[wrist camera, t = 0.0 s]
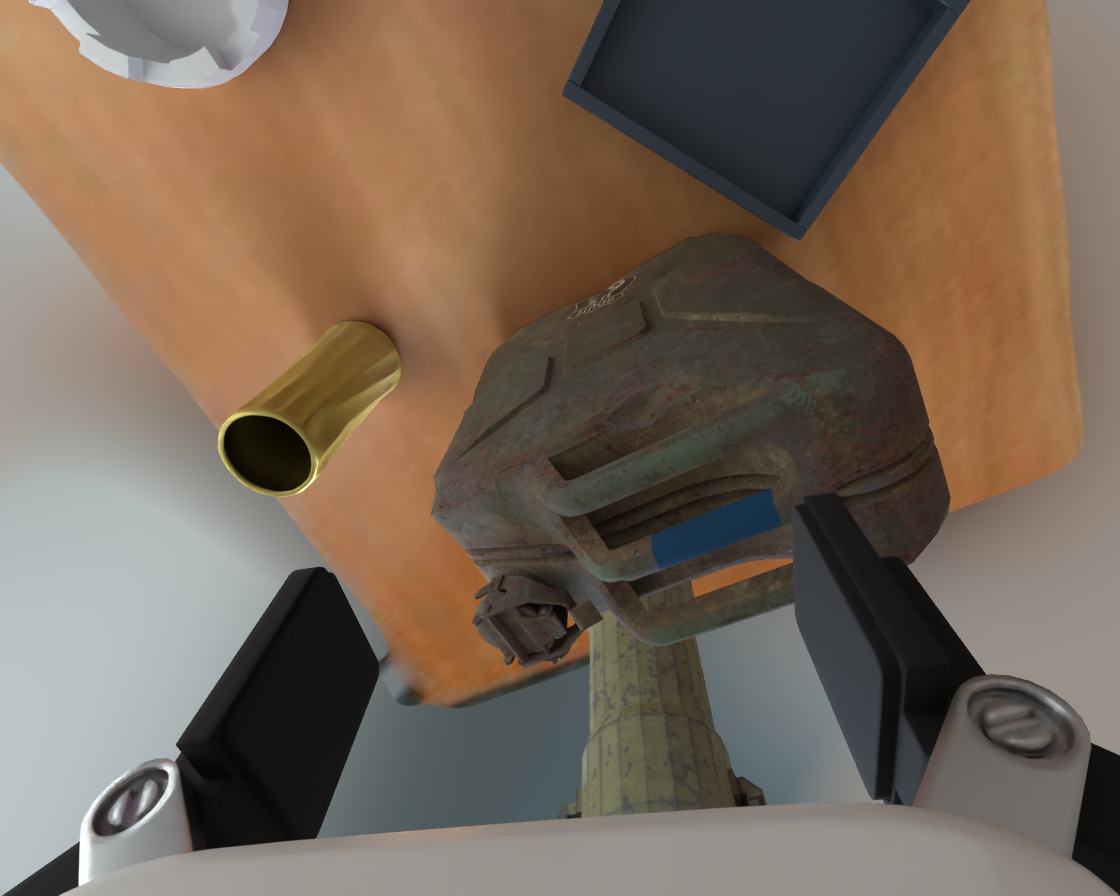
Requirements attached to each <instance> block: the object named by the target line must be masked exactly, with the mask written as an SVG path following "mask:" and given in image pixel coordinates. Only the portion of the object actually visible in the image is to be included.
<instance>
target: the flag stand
mask: <svg viewBox="0 0 1120 896" xmlns="http://www.w3.org/2000/svg"><path fill="white" fill-rule="evenodd" d="M29 2H30V3H31V5H36V6H40V7H45V8H49V9H51V11H52V12H53V13H54V14H55V15H56V16H57V18H58V19H59V20H60V21H61V22H62V23H63V25H64V26H65V27H66V28H67V29H68V30H69V32H70V33H71V34H72V35H73V36H74V37H75V38H77V39H78V40H79V41H80V42H81V45H80V48H79V51H78V52H79V53H80V54H82V55H83V56H85V57H86V58H88V59H89V60H91V61H93V62H94V63H96V64H97V65H99V66H100V67H102V68H103V69H105V70H108V71H110V72H112V73H115V74H117V75H119V76H121V77H124V78H126V79H128V80H135V81H144V82H148V83H153V84H157V85H162V86H166V87H174V88H207V87H211V86H215V85H219V84H223V83H225V82H227V81H229V80H231V79H233V78H234V77H236V76H238V75H240V74H242V73H243V72H244V71H245V70H246V69H247V68H248V67H249V66H250V65H252V64H253V63H254V62H255V61H256V60H257V59H258V58H259V57H260V56H261V55H262V54H263V53H264V52H265V51H266V50H267V49H268V48H269V47H270V46H271V45H272V43H273V41H274V40H275V38H276V37H277V35H278V33H279V32H280V30H281V27H282V24H283V22H284V19H285V16H286V13H287V10H288V3H289V0H29Z"/></svg>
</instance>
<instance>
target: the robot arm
mask: <svg viewBox="0 0 1120 896" xmlns="http://www.w3.org/2000/svg"><path fill="white" fill-rule="evenodd" d="M792 537H793V570H794V602H795V616H796V620H797V624H798V627H799V630H800V632H801V635H802V637H803V640H804V642H805V644H806V647H807V649H808V652H809V654H810V656H811V659H812V661H813V664H814V666H815V668H816V671H817V673H818V675H819V678H820V680H821V683H822V685H823V687H824V690H825V692H826V694H827V697H828V699H829V702H830V704H831V706H832V709H833V711H834V713H835V716H836V718H837V721H838V723H839V725H840V728H841V730H842V733H843V734H844V737H845V740H846V742H847V744H848V747H849V749H850V751H851V754H852V756H853V759H854V761H855V763H856V766H857V768H858V771H859V773H860V775H861V778H862V780H863V782H864V785H865V787H866V790H867V791H868V793H869V795H870V797H871V798H872V799H873V800H882V799H883V801H884V803H885V804H878V803H804V804H785V805H766V806H747V807H729V808H711V809H697V810H683V811H669V812H655V813H641V814H627V815H613V816H599V817H585V818H571V819H558V820H546V821H533V822H519V823H508V824H493V825H481V826H467V827H455V828H442V829H429V830H417V831H404V832H393V833H380V834H368V835H356V836H344V837H332V838H320V839H315V838H316V837H317V835H318V833H319V831H320V828H321V826H322V823H323V820H324V818H325V815H326V812H327V810H328V807H329V805H330V802H331V800H332V797H333V794H334V792H335V789H336V787H337V784H338V781H339V778H340V776H341V773H342V771H343V768H344V765H345V763H346V760H347V758H348V755H349V753H350V750H351V747H352V745H353V742H354V740H355V737H356V734H357V732H358V729H359V727H360V724H361V721H362V718H363V716H364V713H365V710H366V708H367V706H368V703H369V701H370V698H371V695H372V693H373V690H374V688H375V685H376V682H377V680H378V676H379V663H378V660H377V658H376V656H375V654H374V652H373V650H372V648H371V646H370V644H369V642H368V640H367V638H366V636H365V634H364V632H363V630H362V628H361V626H360V624H359V622H358V620H357V618H356V616H355V614H354V612H353V610H352V608H351V606H350V604H349V602H348V600H347V598H346V596H345V594H344V592H343V590H342V588H341V586H340V584H339V582H338V580H337V578H336V576H335V575H334V574H333V573H331V572H328V571H327V570H326V569H325V568H323V567H315V568H307V569H301V570H295V571H293V572H292V573H291V574H290V575H289V576H288V578H287V579H286V581H285V582H284V584H283V586H282V587H281V589H280V590H279V591H278V593H277V594H276V596H275V597H274V599H273V600H272V602H271V603H270V605H269V606H268V608H267V609H266V611H265V612H264V614H263V615H262V617H261V618H260V620H259V621H258V623H257V624H256V626H255V627H254V629H253V630H252V632H251V633H250V635H249V636H248V638H247V639H246V641H245V642H244V644H243V645H242V647H241V648H240V649H239V651H238V652H237V654H236V655H235V657H234V658H233V660H232V661H231V663H230V664H229V666H228V667H227V669H226V670H225V672H224V673H223V675H222V676H221V678H220V679H219V681H218V682H217V684H216V685H215V687H214V688H213V690H212V691H211V693H210V694H209V696H208V697H207V699H206V700H205V702H204V703H203V705H202V706H201V708H200V709H199V711H198V712H197V714H196V715H195V717H194V718H193V720H192V721H191V723H190V724H189V725H188V727H187V728H186V730H185V732H184V733H183V734H182V736H181V738H180V739H179V741H178V742H177V743H176V746H177V747H178V748H179V750H180V751H181V753H180V755H179V756H178V758H177V759H176V761H175V762H174V761H172V760H170V759H154V760H151V761H147V762H144V763H142V764H140V765H138V766H136V767H134V768H132V769H130V770H129V771H127V772H126V773H125V774H123V775H122V776H120V777H119V778H118V779H116V780H115V781H114V782H113V783H112V784H111V785H109V786H108V787H107V788H106V789H105V790H104V791H103V792H102V793H101V794H100V796H99V797H98V798H97V799H96V801H95V802H94V803H93V804H92V805H91V807H90V809H89V810H88V812H87V814H86V816H85V818H84V820H83V823H82V827H81V831H80V842H78V843H77V844H75V845H74V846H73V847H71V848H70V849H69V850H67V851H66V852H64V853H63V854H61V855H60V856H58V857H57V858H55V859H54V860H53V861H51V862H50V863H48V864H47V865H45V866H44V867H43V868H41V869H40V870H38V871H37V872H35V873H34V874H33V875H31V876H30V877H28V878H27V879H25V880H24V881H23V882H21V883H20V884H18V885H17V886H15V887H14V888H13V889H11V890H10V891H8V892H7V893H5V894H4V895H2V896H1120V755H1117V754H1115V753H1113V752H1111V751H1108V750H1106V749H1104V748H1102V747H1099V746H1097V745H1095V744H1093V743H1091V742H1090V733H1089V731H1088V729H1087V727H1086V725H1085V723H1084V721H1083V720H1082V717H1081V716H1080V715H1079V714H1078V713H1077V712H1076V711H1075V710H1074V709H1073V708H1072V707H1071V706H1070V705H1069V704H1068V703H1067V702H1066V701H1064V700H1063V699H1061V698H1060V697H1059V696H1057V695H1056V694H1054V693H1053V692H1051V691H1050V690H1048V689H1046V688H1044V687H1042V686H1039V685H1037V684H1035V683H1033V682H1031V681H1028V680H1024V679H1020V678H1016V677H1013V676H1008V675H994V674H989V675H986V674H985V672H984V671H983V670H982V668H981V667H980V665H979V664H978V663H977V661H976V660H975V659H974V657H973V656H972V655H971V653H970V652H969V650H968V649H967V648H966V646H965V645H964V644H963V642H962V641H961V639H960V638H959V637H958V635H957V634H956V633H955V631H954V630H953V628H952V627H951V626H950V624H949V623H948V621H947V620H946V619H945V617H944V616H943V615H942V613H941V612H940V610H939V609H938V608H937V607H936V605H935V604H934V602H933V601H932V599H931V598H930V597H929V595H928V594H927V593H926V591H925V590H924V589H923V587H922V586H921V584H920V583H919V582H918V580H917V579H916V578H915V576H914V575H913V574H912V572H911V571H910V570H909V568H908V567H907V565H906V564H905V563H904V562H903V561H902V560H901V558H899V557H897V556H890V557H883V558H880V557H879V555H878V554H877V552H876V551H875V549H874V548H873V546H872V545H871V544H870V542H869V541H868V539H867V538H866V536H865V535H864V533H863V532H862V530H861V529H860V527H859V526H858V524H857V523H856V521H855V520H854V519H853V517H852V516H851V514H850V513H849V511H848V510H847V508H846V507H845V505H844V504H843V502H842V501H841V499H840V498H839V496H838V495H837V494H836V493H834V492H830V493H823V494H816V495H809V496H803V497H802V500H801V505H794V506H793V507H792Z"/></svg>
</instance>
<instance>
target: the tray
mask: <svg viewBox="0 0 1120 896" xmlns="http://www.w3.org/2000/svg"><path fill="white" fill-rule="evenodd" d="M969 2H970V0H604V2H603V5H602V7H601V9H600V11H599V13H598V16H597V18H596V20H595V22H594V24H593V26H592V29H591V31H590V33H589V35H588V37H587V39H586V42H585V44H584V46H583V48H582V50H581V53H580V55H579V57H578V59H577V61H576V63H575V66H574V68H573V70H572V72H571V74H570V77H569V80H568V81H567V83H566V85H565V87H564V90H563V92H562V94H563V96H564V97H566V98H567V99H569V100H571V101H572V102H574V103H575V104H577V105H579V106H580V107H582V108H583V109H585V110H587V111H588V112H590V113H591V114H593V115H595V116H596V117H598V118H599V119H601V120H603V121H604V122H606V123H607V124H609V125H611V126H612V127H614V128H615V129H617V130H619V131H620V132H622V133H624V134H625V135H627V136H628V137H630V138H632V139H633V140H635V141H636V142H638V143H640V144H641V145H643V146H644V147H646V148H648V149H649V150H651V151H652V152H654V153H656V154H657V155H659V156H660V157H662V158H664V159H665V160H667V161H668V162H670V163H672V164H673V165H675V166H676V167H678V168H680V169H681V170H683V171H684V172H686V173H688V174H689V175H691V176H692V177H694V178H696V179H697V180H699V181H701V182H702V183H704V184H705V185H707V186H709V187H710V188H712V189H713V190H715V191H717V192H718V193H720V194H721V195H723V196H725V197H726V198H728V199H729V200H731V201H733V202H734V203H736V204H737V205H739V206H741V207H742V208H744V209H745V210H747V211H749V212H750V213H752V214H753V215H755V216H757V217H758V218H760V219H761V220H763V221H765V222H766V223H768V224H769V225H771V226H773V227H774V228H776V229H777V230H779V231H781V232H782V233H784V234H786V235H787V236H789V237H791V238H792V239H794V240H796V241H800V240H801V238H802V237H803V236H804V234H805V233H806V231H807V230H808V229H809V228H810V226H811V225H812V223H813V222H814V220H815V219H816V218H817V216H818V215H819V213H820V212H821V211H822V209H823V208H824V206H825V205H826V204H827V202H828V201H829V199H830V198H831V196H832V195H833V194H834V192H835V191H836V189H837V188H838V187H839V185H840V184H841V182H842V181H843V180H844V178H845V177H846V175H847V174H848V172H849V171H850V170H851V168H852V167H853V165H854V164H855V163H856V161H857V160H858V158H859V157H860V156H861V154H862V153H863V151H864V150H865V148H866V147H867V146H868V144H869V143H870V141H871V140H872V139H873V137H874V136H875V134H876V133H877V132H878V130H879V129H880V127H881V126H882V124H883V123H884V122H885V120H886V119H887V117H888V116H889V115H890V113H891V112H892V110H893V109H894V108H895V106H896V105H897V103H898V102H899V100H900V99H901V98H902V96H903V95H904V93H905V92H906V91H907V89H908V88H909V86H910V85H911V84H912V82H913V81H914V79H915V78H916V76H917V75H918V74H919V72H920V71H921V69H922V68H923V67H924V65H925V64H926V62H927V61H928V60H929V58H930V57H931V55H932V54H933V52H934V51H935V50H936V48H937V47H938V45H939V44H940V43H941V41H942V40H943V38H944V37H945V36H946V34H947V33H948V31H949V30H950V28H951V27H952V26H953V24H954V23H955V21H956V20H957V19H958V17H959V15H960V14H961V13H962V12H963V10H964V9H965V7H966V6H967V4H968V3H969ZM806 229H807V230H806Z"/></svg>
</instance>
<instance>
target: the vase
mask: <svg viewBox="0 0 1120 896" xmlns="http://www.w3.org/2000/svg"><path fill="white" fill-rule="evenodd" d="M400 374H401V361H400V357H399V354H398V352H397V350H396V348H395V346H394V344H393V342H392V341H391V339H390V338H389V337H388V336H387V335H386V334H385V333H383V332H382V331H381V330H379V329H378V328H376V327H375V326H373V325H370V324H367V323H364V322H359V321H344V322H341V323H338V324H335V325H333V326H332V327H330V328H329V329H328V330H326V332H325V333H324V334H323V336H322V337H321V338H320V339H319V340H318V341H317V342H316V343H315V344H314V345H312V346H311V347H310V348H309V349H308V350H307V351H306V352H305V353H304V354H303V355H302V356H301V357H300V358H299V359H298V360H297V361H296V362H295V363H294V364H293V365H291V366H290V367H289V368H288V369H287V370H286V371H284V372H283V373H282V374H281V375H280V376H279V377H277V378H276V379H275V380H274V381H273V382H272V383H271V384H270V385H269V386H267V387H266V388H265V389H264V390H263V391H262V392H260V393H259V394H258V395H257V396H256V397H254V398H253V399H252V400H251V401H249V402H248V403H247V404H246V405H244V406H243V407H241V408H240V409H238V410H237V411H236V412H235V413H234V414H232V415H231V416H230V417H229V418H228V419H227V420H226V421H225V422H224V424H223V425H222V427H221V429H220V432H219V437H218V450H219V453H220V456H221V458H222V460H223V462H224V464H225V465H226V467H227V468H228V469H229V471H230V472H231V473H232V474H233V476H234V477H235V478H236V479H238V480H239V481H240V482H241V483H242V484H244V485H245V486H246V487H248V488H250V489H252V490H254V491H256V492H259V493H263V494H266V495H270V496H275V497H286V496H291V495H295V494H298V493H300V492H302V491H303V490H304V489H306V488H307V487H308V486H309V485H310V484H311V483H312V482H313V481H314V480H315V479H316V478H317V477H318V476H319V474H320V473H321V472H322V471H323V469H324V468H325V466H326V465H327V464H328V462H329V461H330V460H331V459H332V457H333V456H334V455H335V453H336V452H337V451H338V450H339V448H340V447H341V446H342V445H343V443H344V442H345V441H346V439H347V438H348V437H349V436H350V434H351V433H352V432H353V431H354V430H355V428H356V427H357V426H358V425H359V424H360V423H361V422H362V421H363V419H364V418H365V417H366V416H367V415H368V414H369V413H370V412H371V410H372V409H373V408H374V407H375V406H376V405H377V403H378V402H379V401H380V400H381V399H382V398H384V397H385V396H386V395H387V394H389V393H390V392H391V391H392V390H393V389H394V388H395V387H396V385H397V383H398V381H399V378H400Z"/></svg>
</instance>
